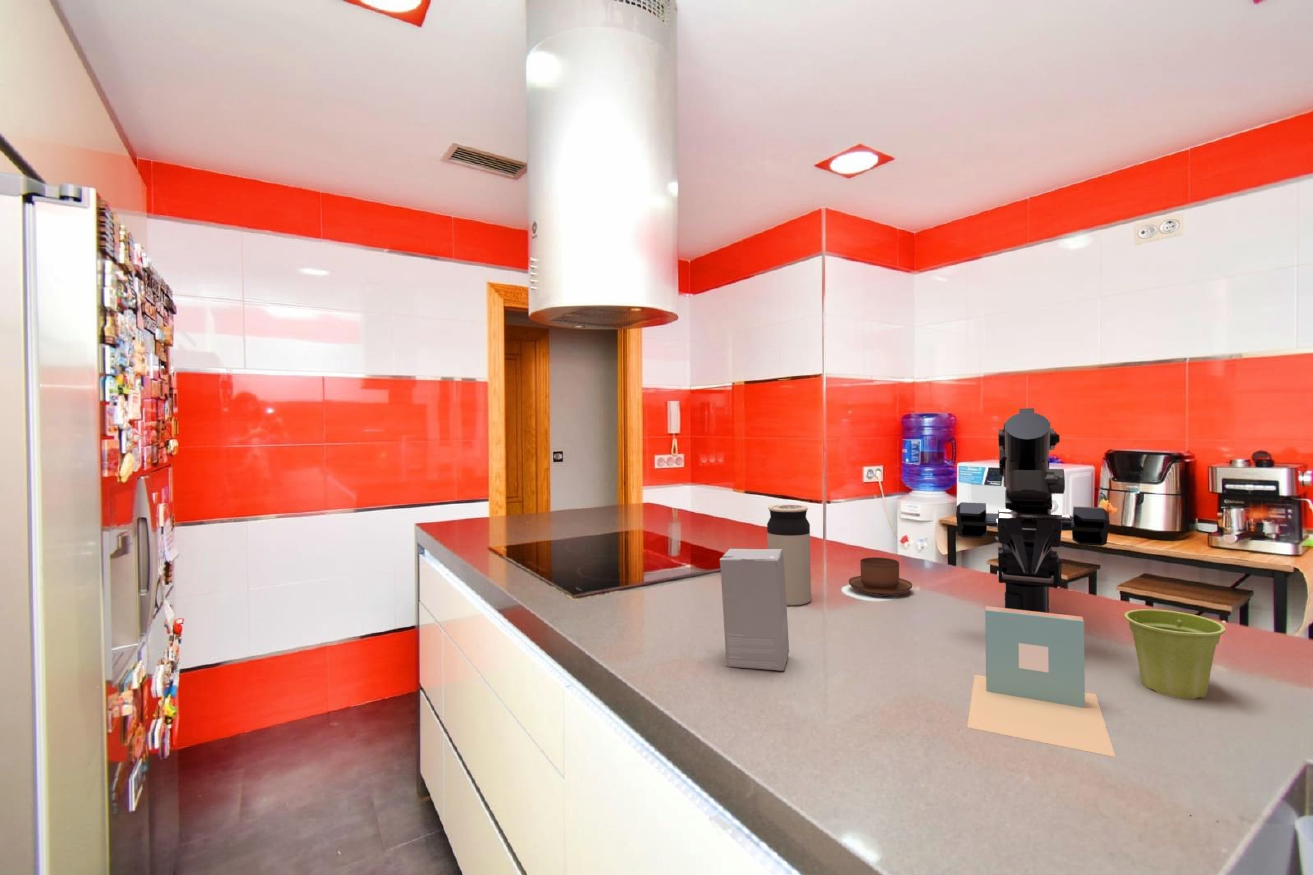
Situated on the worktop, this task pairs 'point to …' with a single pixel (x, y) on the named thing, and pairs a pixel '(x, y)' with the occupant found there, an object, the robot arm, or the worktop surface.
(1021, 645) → the tile
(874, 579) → the cup and saucer
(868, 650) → the worktop surface
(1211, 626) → the plant pot
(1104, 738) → the cork mat
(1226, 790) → the worktop surface
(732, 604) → the skincare box
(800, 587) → the travel mug
